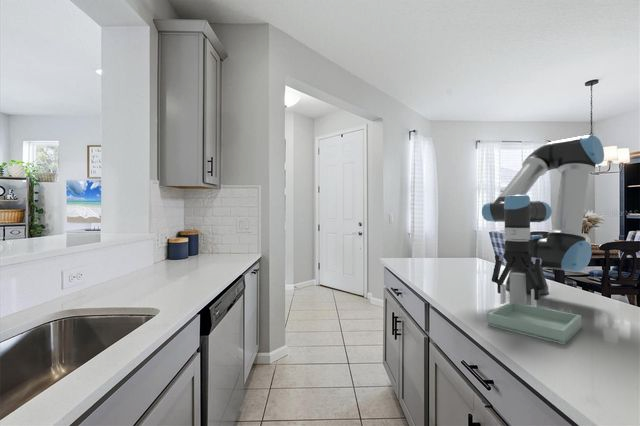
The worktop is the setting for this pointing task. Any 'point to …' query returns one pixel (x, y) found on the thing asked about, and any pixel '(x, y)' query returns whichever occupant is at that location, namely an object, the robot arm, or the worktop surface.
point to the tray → (536, 322)
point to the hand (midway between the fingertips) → (518, 306)
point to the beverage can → (518, 288)
